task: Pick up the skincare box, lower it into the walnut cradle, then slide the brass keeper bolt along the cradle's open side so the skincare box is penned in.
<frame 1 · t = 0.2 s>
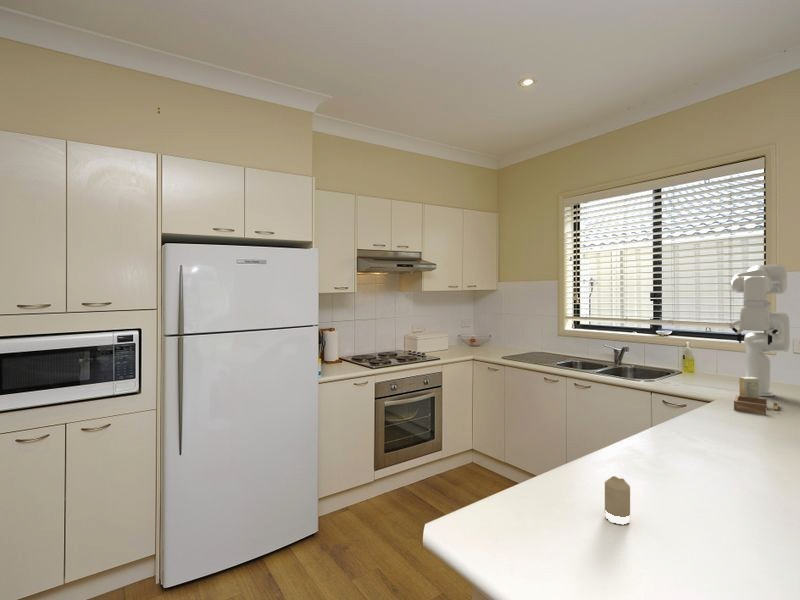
hand: (754, 343, 185), 31 cm above the worktop, tool pointing down, fingers open, 9 cm apart
keeper bolt: (775, 404, 193), point 2 cm above the worktop, slide at 0.0 cm
skincare box: (748, 403, 202), on the worktop
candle: (617, 520, 103), on the worktop
cradle: (750, 408, 192), on the worktop
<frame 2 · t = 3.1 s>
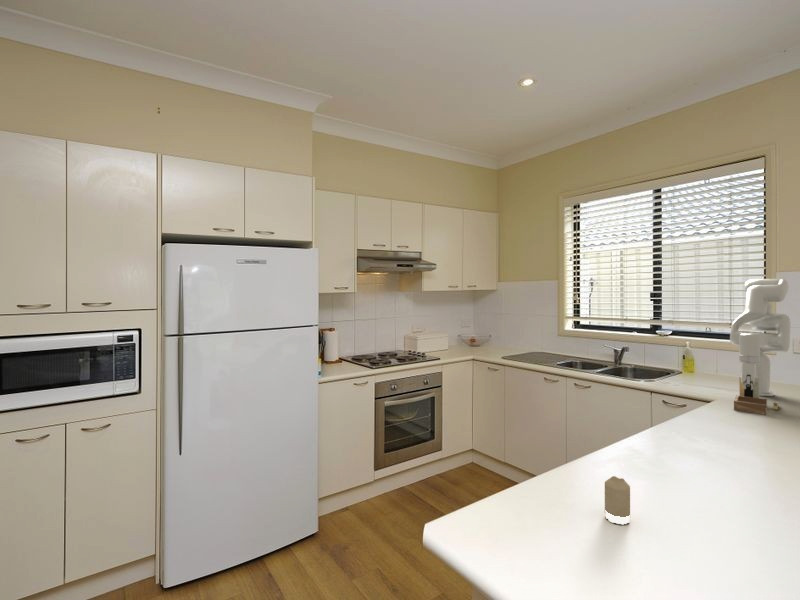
hand: (749, 396, 202), 3 cm above the worktop, tool pointing down, fingers closed on skincare box, 6 cm apart
skincare box: (748, 403, 202), on the worktop, touching gripper
everything else where it was.
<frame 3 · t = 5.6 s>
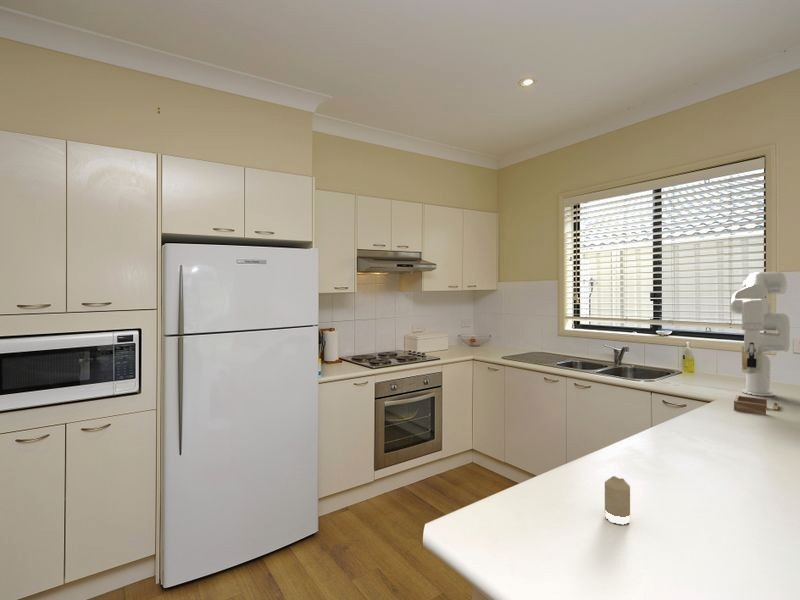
hand: (752, 365, 192), 20 cm above the worktop, tool pointing down, fingers closed on skincare box, 6 cm apart
skincare box: (752, 373, 192), point 16 cm above the worktop, touching gripper
everything else where it was.
when the fingers open (5 cm above the worktop, at t = 8.3 s): skincare box drops 2 cm, on the worktop.
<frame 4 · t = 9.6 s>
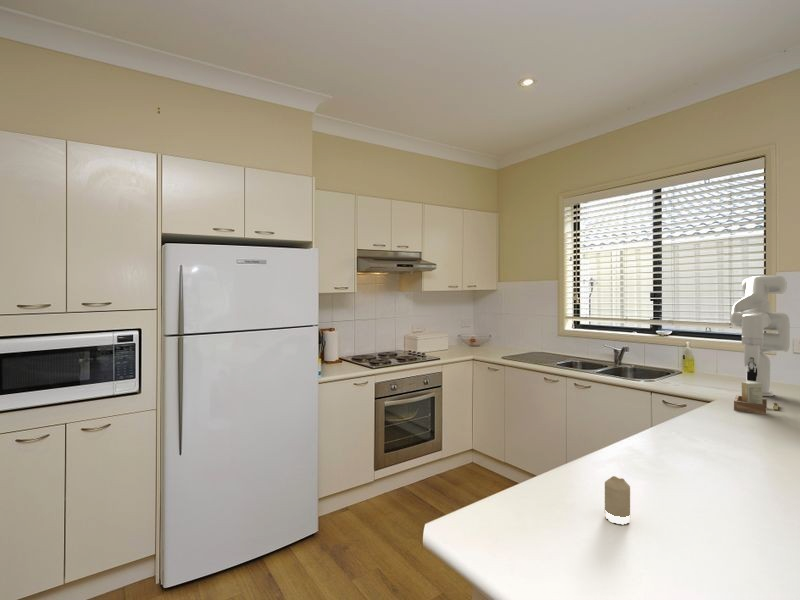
hand: (752, 378, 192), 14 cm above the worktop, tool pointing down, fingers open, 9 cm apart
skincare box: (751, 409, 192), on the worktop
everything else where it was.
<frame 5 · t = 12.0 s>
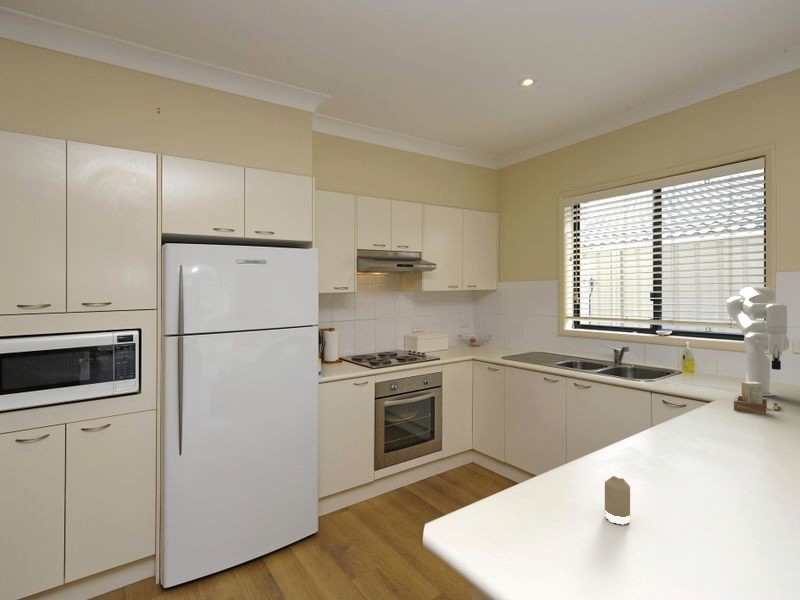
hand: (776, 369, 199), 16 cm above the worktop, tool pointing down, fingers closed
nothing on the worktop moved.
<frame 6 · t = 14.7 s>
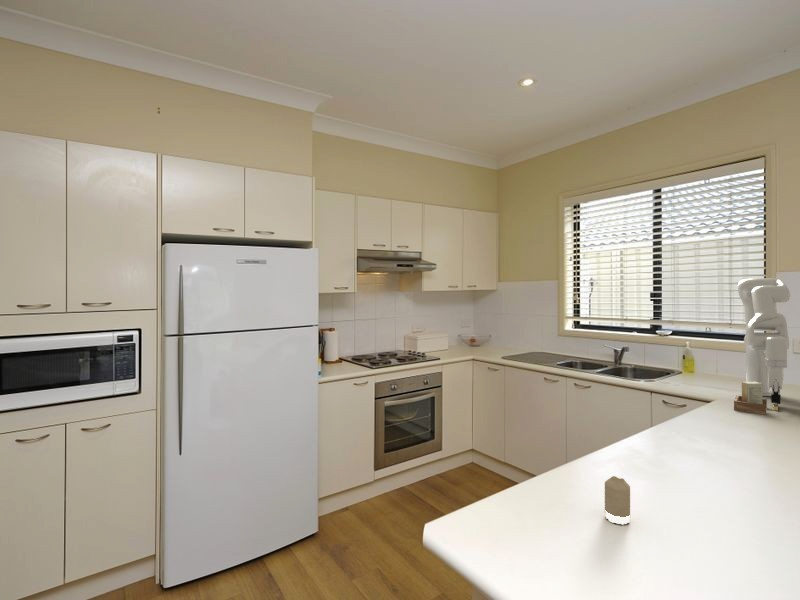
hand: (775, 402, 196), 1 cm above the worktop, tool pointing down, fingers closed
keeper bolt: (775, 405, 192), point 2 cm above the worktop, slide at 1.6 cm, touching gripper
everything else where it was.
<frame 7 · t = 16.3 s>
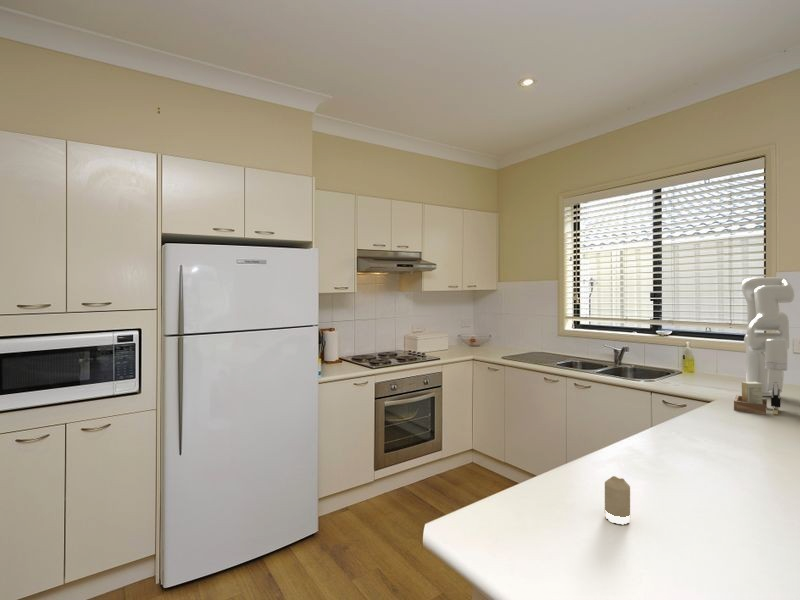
hand: (775, 406, 190), 1 cm above the worktop, tool pointing down, fingers closed
keeper bolt: (775, 408, 186), point 2 cm above the worktop, slide at 9.2 cm, touching gripper
everything else where it was.
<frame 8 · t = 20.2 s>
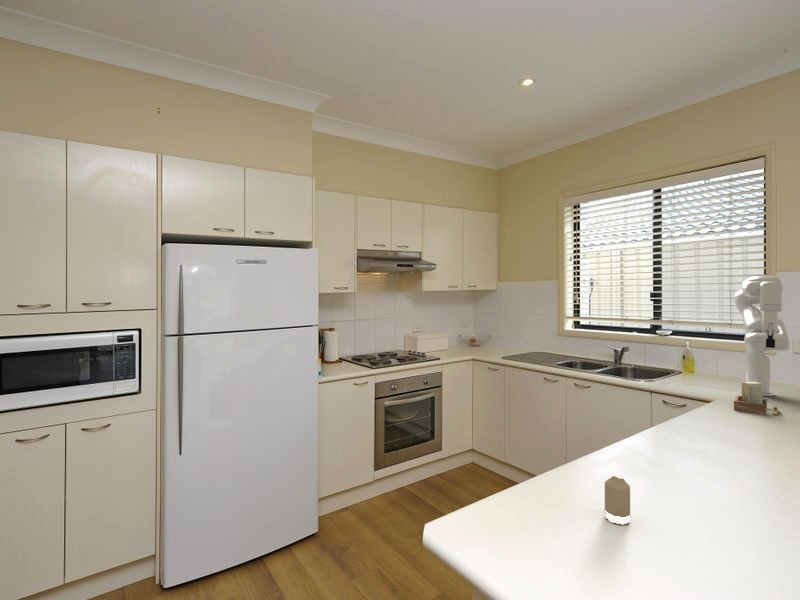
hand: (770, 347, 197), 27 cm above the worktop, tool pointing down, fingers closed
keeper bolt: (775, 409, 186), point 2 cm above the worktop, slide at 9.4 cm
everything else where it was.
at the end: skincare box inside the target area on the cradle (0.1 cm from its centre), point 0.0 cm above the cradle's base; skincare box tilted 0°; keeper bolt slide at 9.4 cm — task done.
